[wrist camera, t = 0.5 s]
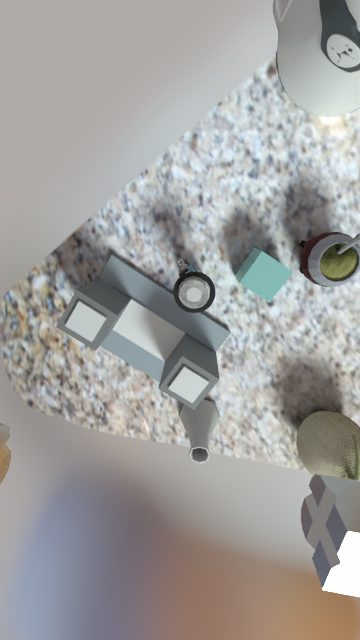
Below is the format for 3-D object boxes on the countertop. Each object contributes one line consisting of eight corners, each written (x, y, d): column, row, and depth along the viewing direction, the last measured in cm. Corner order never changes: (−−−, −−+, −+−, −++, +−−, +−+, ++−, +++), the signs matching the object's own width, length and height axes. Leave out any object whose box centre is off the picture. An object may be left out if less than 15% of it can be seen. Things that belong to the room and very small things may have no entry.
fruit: (357, 396, 52) (417, 463, 38) (341, 451, 56) (390, 531, 41) (295, 391, 52) (331, 454, 38) (283, 446, 56) (312, 523, 42)
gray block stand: (113, 254, 47) (90, 263, 37) (229, 330, 50) (237, 358, 40) (72, 325, 51) (42, 350, 41) (182, 392, 54) (178, 431, 44)
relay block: (239, 282, 41) (234, 275, 47) (269, 302, 42) (260, 292, 47) (262, 250, 40) (254, 247, 45) (292, 271, 40) (281, 265, 46)
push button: (165, 268, 47) (157, 281, 38) (194, 248, 46) (192, 255, 36) (191, 303, 49) (189, 323, 39) (219, 283, 47) (224, 299, 38)
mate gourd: (315, 288, 47) (366, 317, 32) (277, 255, 46) (312, 271, 31) (353, 249, 45) (425, 262, 30) (314, 213, 43) (370, 210, 29)
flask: (220, 397, 54) (224, 435, 44) (219, 431, 56) (223, 475, 46) (178, 396, 54) (174, 434, 45) (179, 431, 56) (175, 473, 47)
